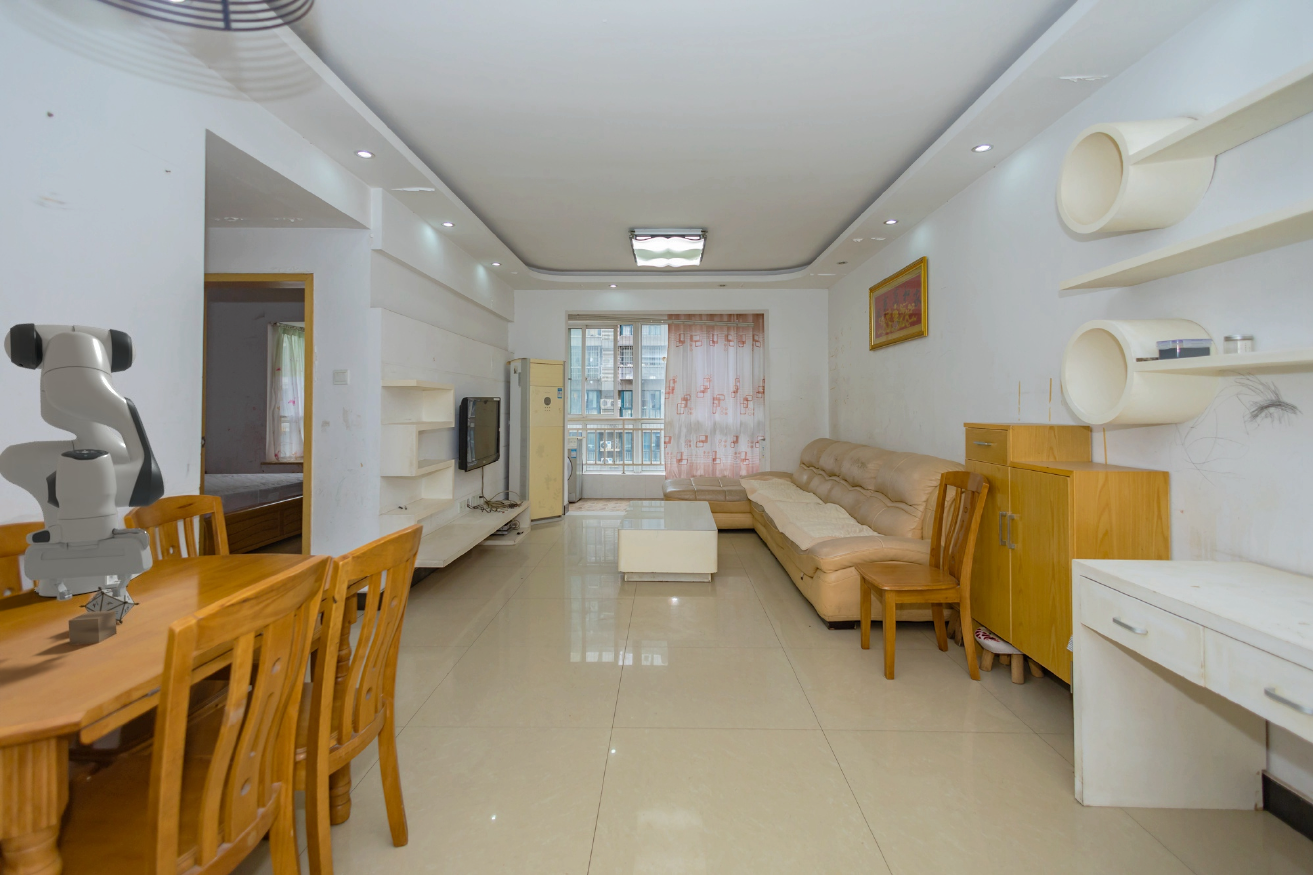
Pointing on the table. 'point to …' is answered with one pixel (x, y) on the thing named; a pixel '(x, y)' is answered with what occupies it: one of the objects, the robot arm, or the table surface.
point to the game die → (110, 603)
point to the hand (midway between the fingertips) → (92, 597)
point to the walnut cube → (92, 627)
